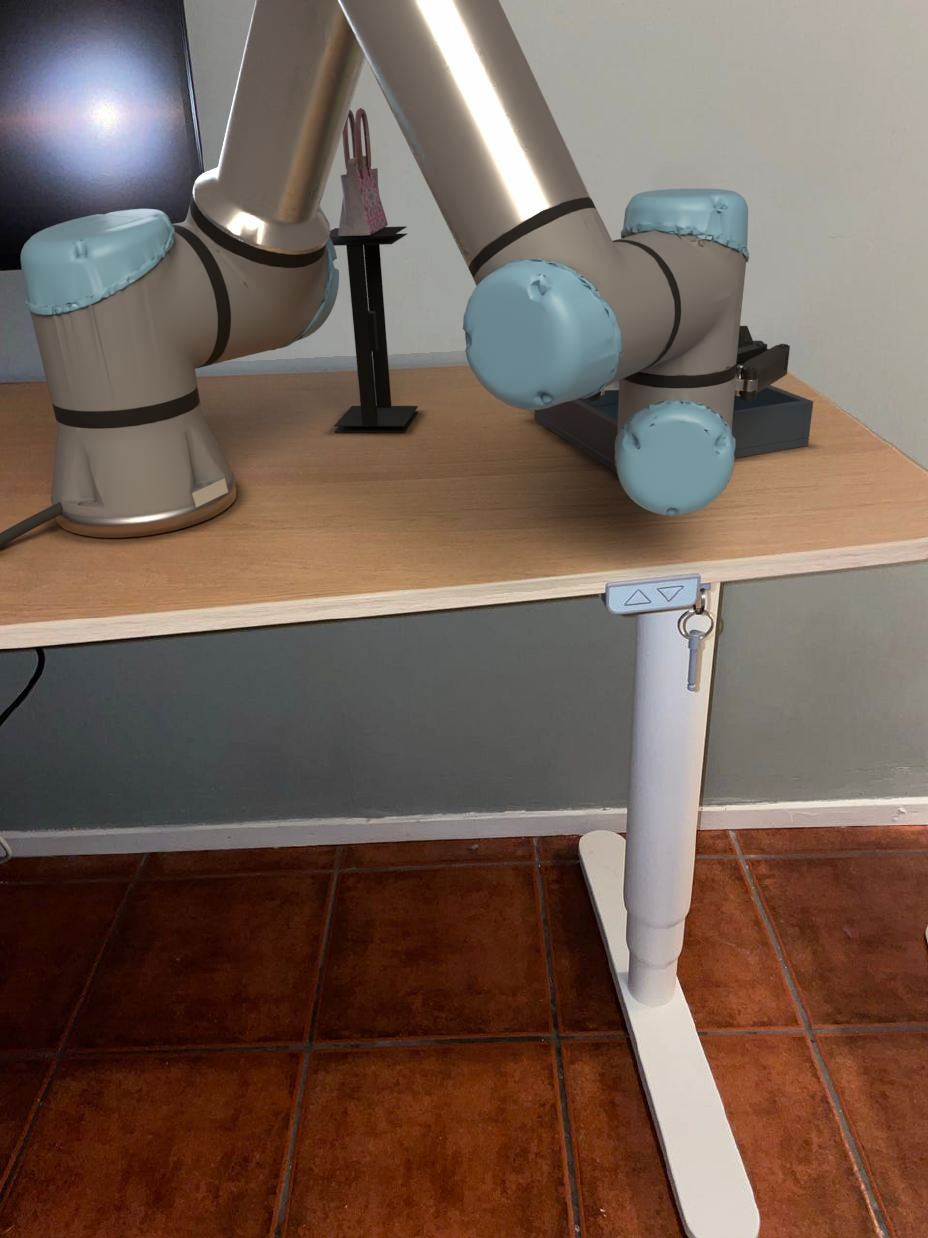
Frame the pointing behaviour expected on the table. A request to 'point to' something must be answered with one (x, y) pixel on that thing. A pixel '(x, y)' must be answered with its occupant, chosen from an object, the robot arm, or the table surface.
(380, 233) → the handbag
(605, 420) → the dark blue shallow tray
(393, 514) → the table surface
